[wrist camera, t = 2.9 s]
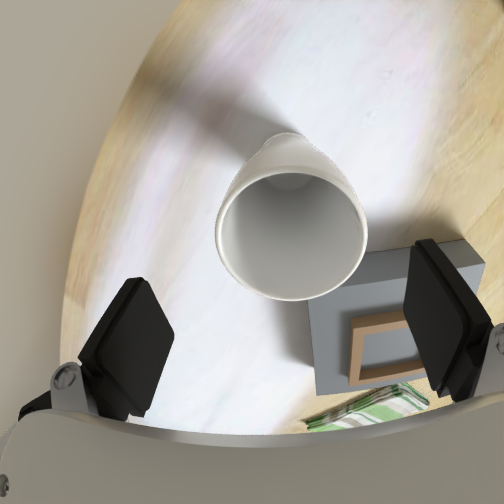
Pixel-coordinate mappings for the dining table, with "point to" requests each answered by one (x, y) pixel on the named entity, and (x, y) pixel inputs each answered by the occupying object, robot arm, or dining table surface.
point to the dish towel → (373, 409)
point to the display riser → (374, 322)
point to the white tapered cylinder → (290, 222)
